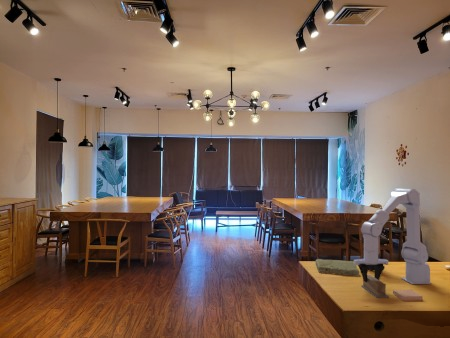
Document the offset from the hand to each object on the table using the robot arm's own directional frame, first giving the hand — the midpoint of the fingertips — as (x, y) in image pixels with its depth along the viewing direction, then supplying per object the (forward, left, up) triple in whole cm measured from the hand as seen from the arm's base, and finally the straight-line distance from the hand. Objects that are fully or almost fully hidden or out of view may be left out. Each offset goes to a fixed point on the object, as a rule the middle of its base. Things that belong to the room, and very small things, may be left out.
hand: (370, 281), depth 141 cm
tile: (-11, +6, -3) cm, 12 cm away
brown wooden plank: (0, +2, -3) cm, 4 cm away
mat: (0, +3, -3) cm, 5 cm away
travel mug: (-15, -29, -4) cm, 33 cm away
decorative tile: (+4, -29, -4) cm, 30 cm away
